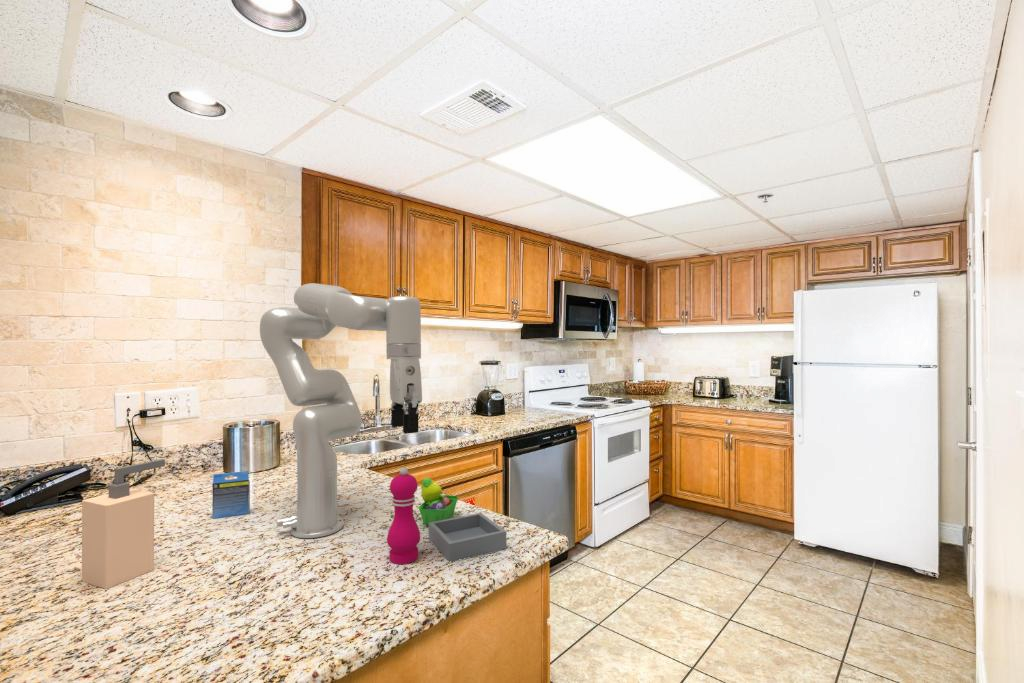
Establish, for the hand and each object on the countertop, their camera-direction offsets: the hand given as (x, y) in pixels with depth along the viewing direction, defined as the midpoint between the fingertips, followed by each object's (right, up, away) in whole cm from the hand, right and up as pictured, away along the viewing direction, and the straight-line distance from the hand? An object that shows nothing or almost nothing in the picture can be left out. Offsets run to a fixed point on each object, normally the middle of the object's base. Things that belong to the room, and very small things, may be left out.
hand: (404, 429), depth 104 cm
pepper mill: (0, -29, 0) cm, 29 cm away
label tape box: (-55, -29, +27) cm, 68 cm away
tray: (+13, -29, +7) cm, 32 cm away
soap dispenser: (-56, -29, -6) cm, 63 cm away
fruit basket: (+4, -29, +22) cm, 37 cm away
